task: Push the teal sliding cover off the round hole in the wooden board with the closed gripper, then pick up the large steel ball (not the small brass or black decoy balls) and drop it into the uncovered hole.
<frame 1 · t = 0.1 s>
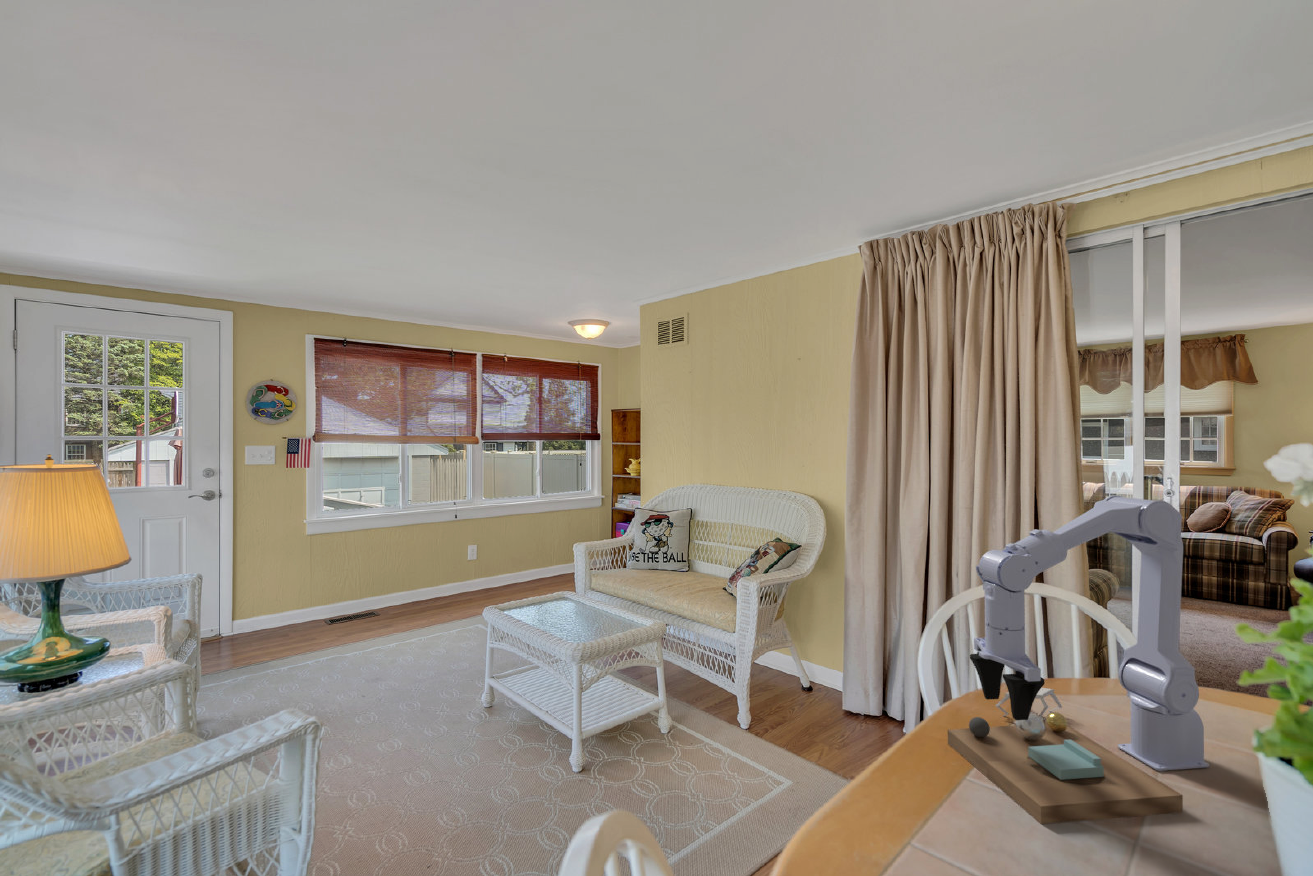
hand: (1005, 708, 102), 10 cm above the table, fingers open, 7 cm apart
cover: (1064, 758, 98), point 4 cm above the table, slide at 0.0 cm
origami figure: (1023, 716, 122), on the table
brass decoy: (1056, 722, 109), point 4 cm above the table, touching wooden board
steel ball: (1030, 726, 107), point 5 cm above the table, touching wooden board
black decoy: (979, 727, 108), point 4 cm above the table, touching wooden board
wooden board: (1053, 774, 100), on the table
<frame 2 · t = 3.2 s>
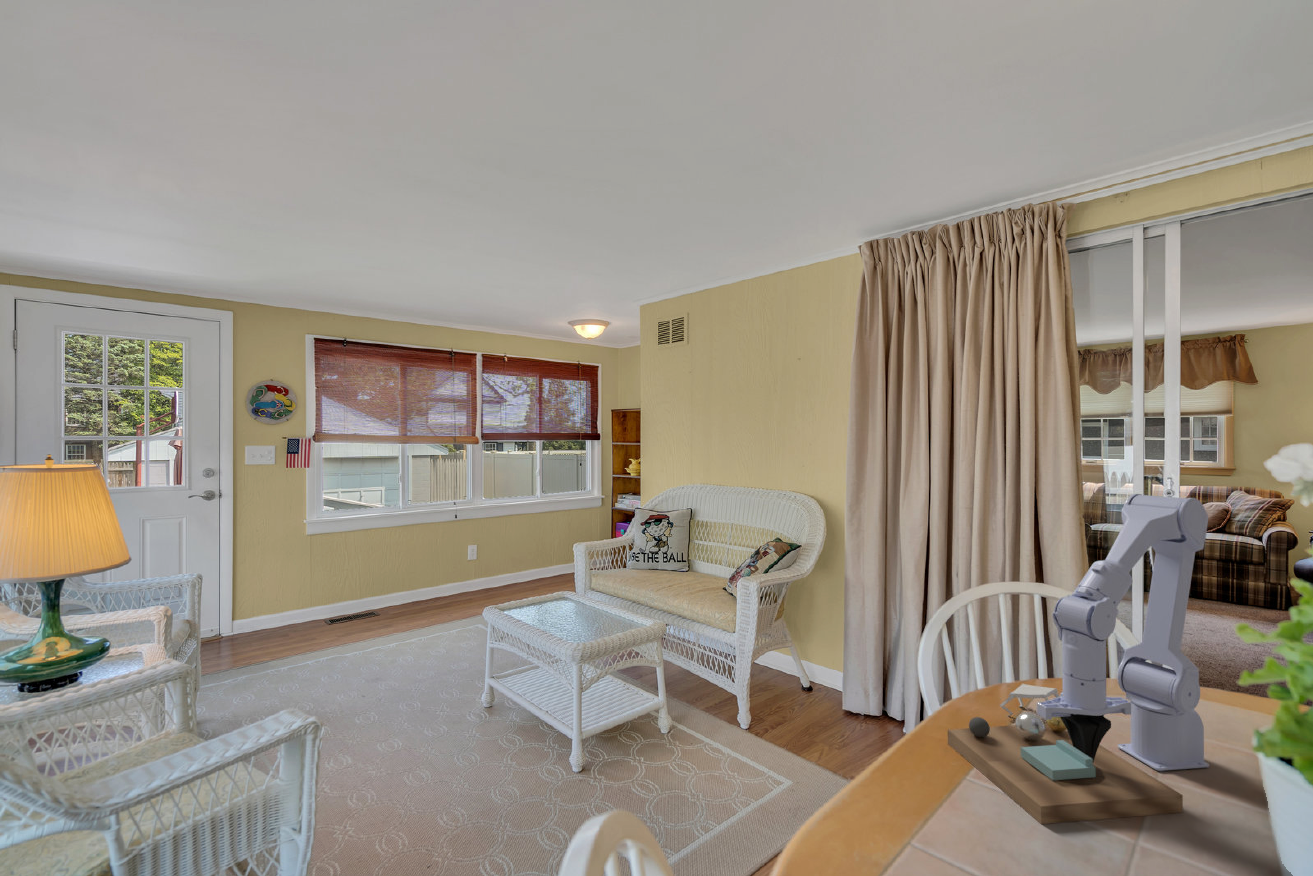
hand: (1084, 760, 98), 3 cm above the table, fingers closed
cover: (1056, 758, 98), point 4 cm above the table, slide at 1.3 cm, touching gripper
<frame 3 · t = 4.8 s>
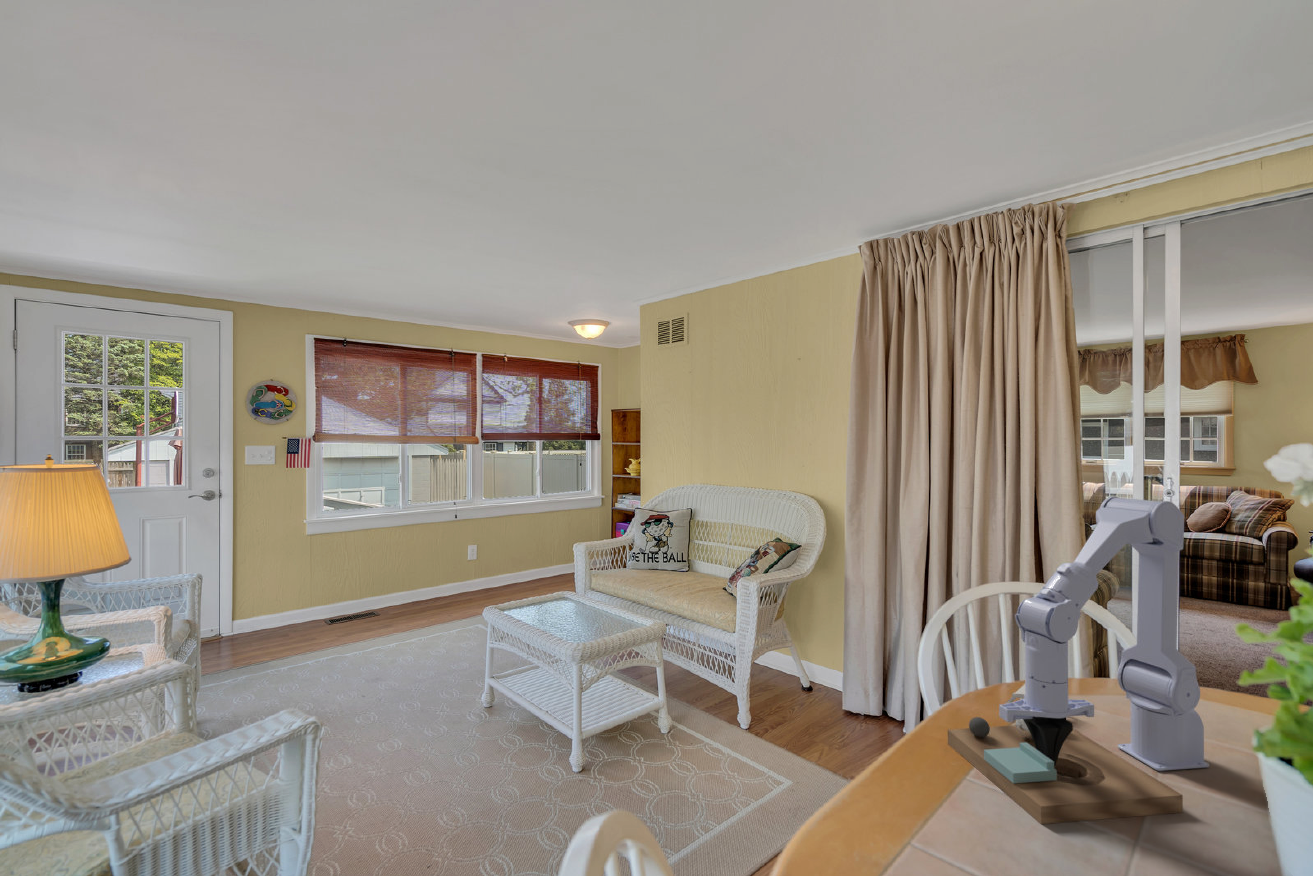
hand: (1047, 763, 97), 3 cm above the table, fingers closed
cover: (1019, 761, 97), point 4 cm above the table, slide at 7.7 cm, touching gripper
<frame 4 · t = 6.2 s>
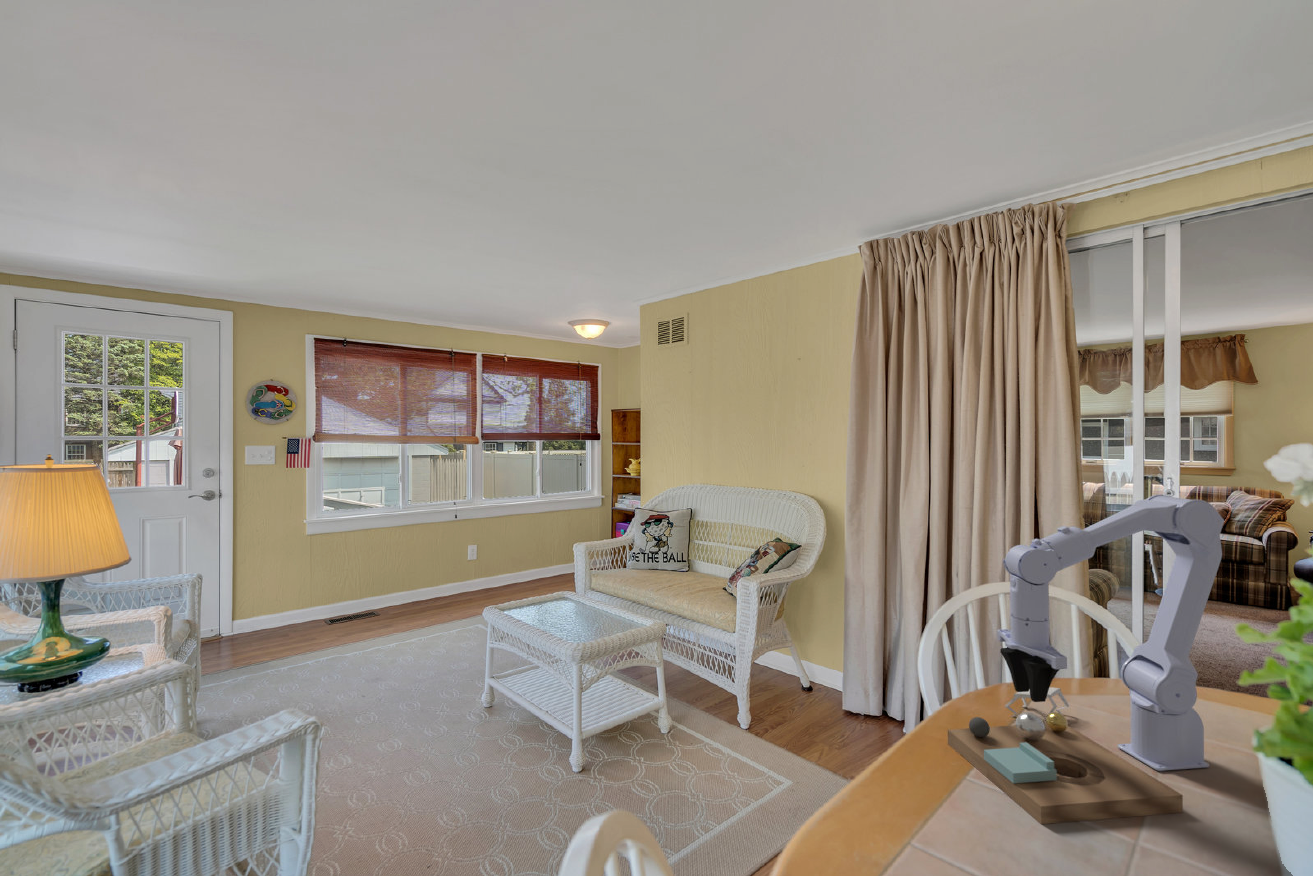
hand: (1030, 696, 107), 10 cm above the table, fingers open, 3 cm apart
cover: (1019, 761, 97), point 4 cm above the table, slide at 7.7 cm
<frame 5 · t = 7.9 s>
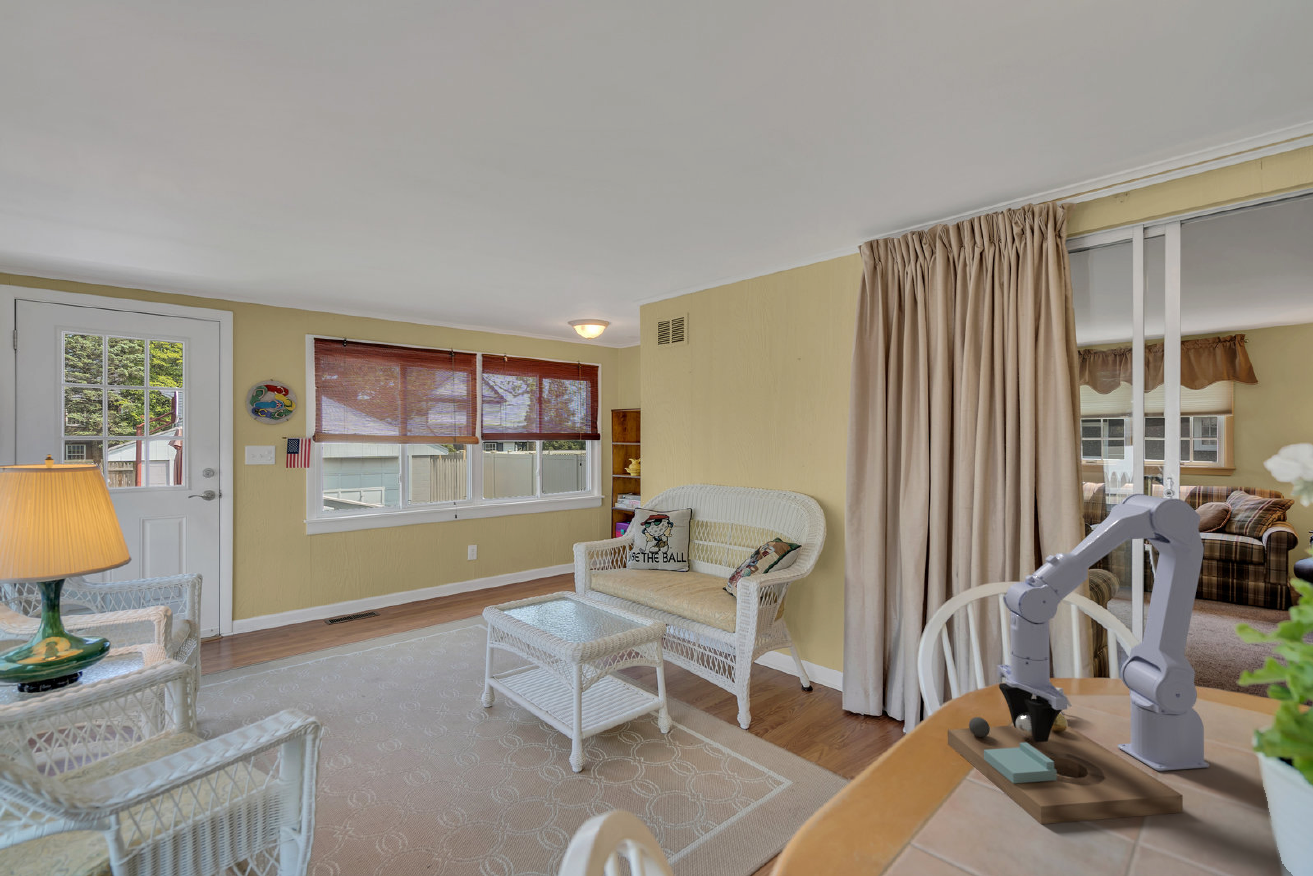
hand: (1030, 733, 107), 3 cm above the table, fingers closed on steel ball, 4 cm apart
steel ball: (1030, 726, 107), point 5 cm above the table, touching gripper, wooden board
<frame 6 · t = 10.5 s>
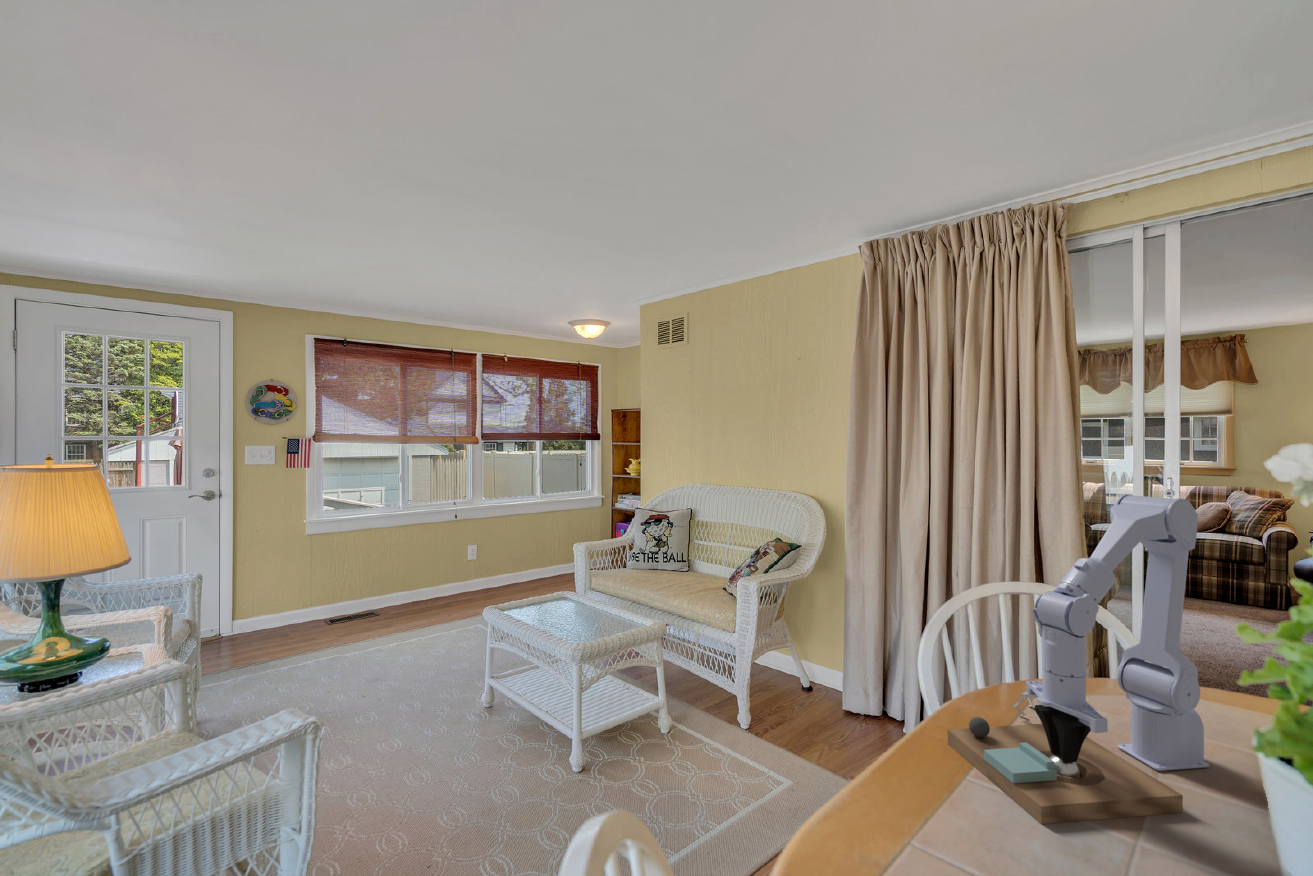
hand: (1063, 757, 98), 4 cm above the table, fingers closed on steel ball, 2 cm apart
steel ball: (1062, 770, 98), point 2 cm above the table, tilted 119°, touching gripper
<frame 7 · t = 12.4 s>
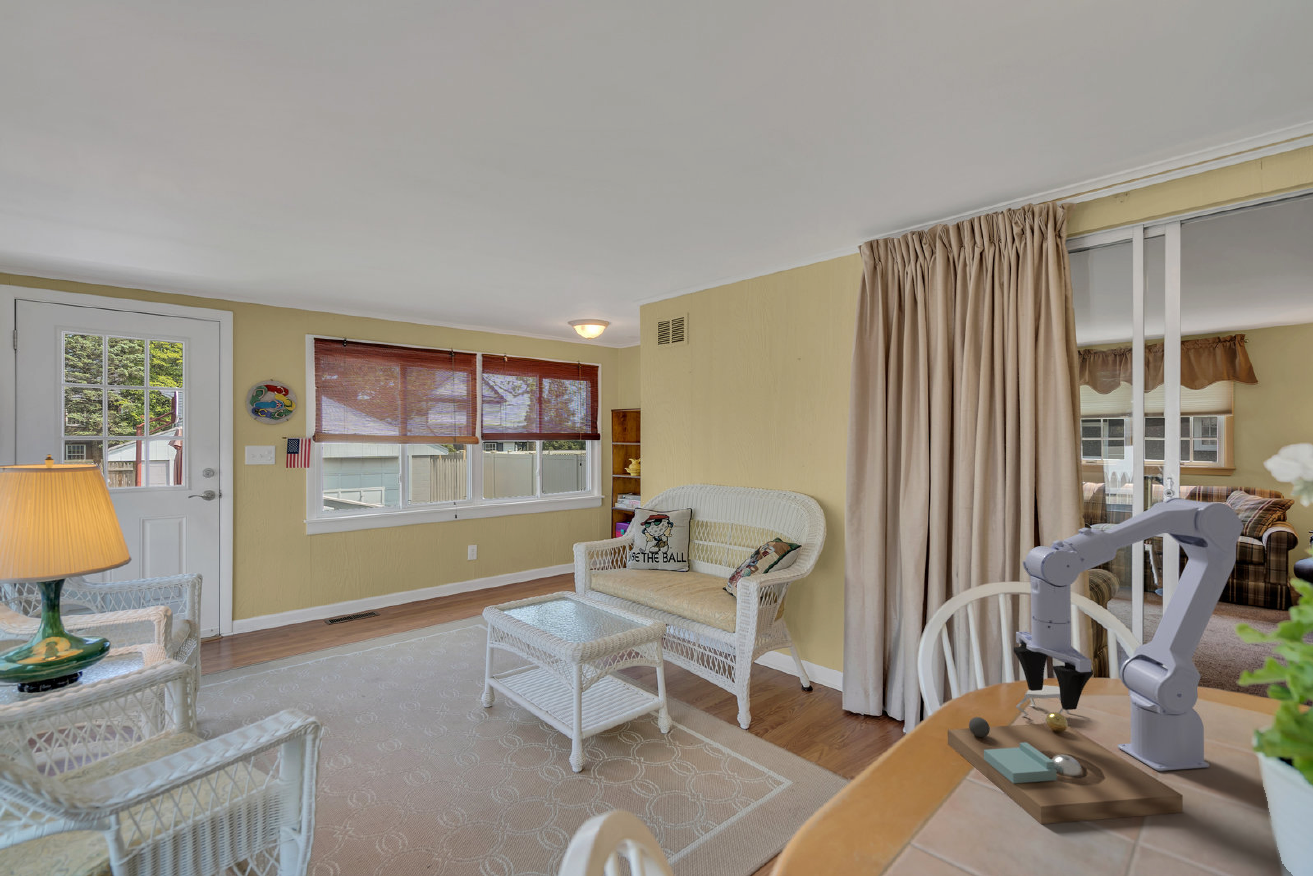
hand: (1051, 699, 106), 10 cm above the table, fingers open, 7 cm apart
steel ball: (1066, 770, 97), point 2 cm above the table, tilted 123°
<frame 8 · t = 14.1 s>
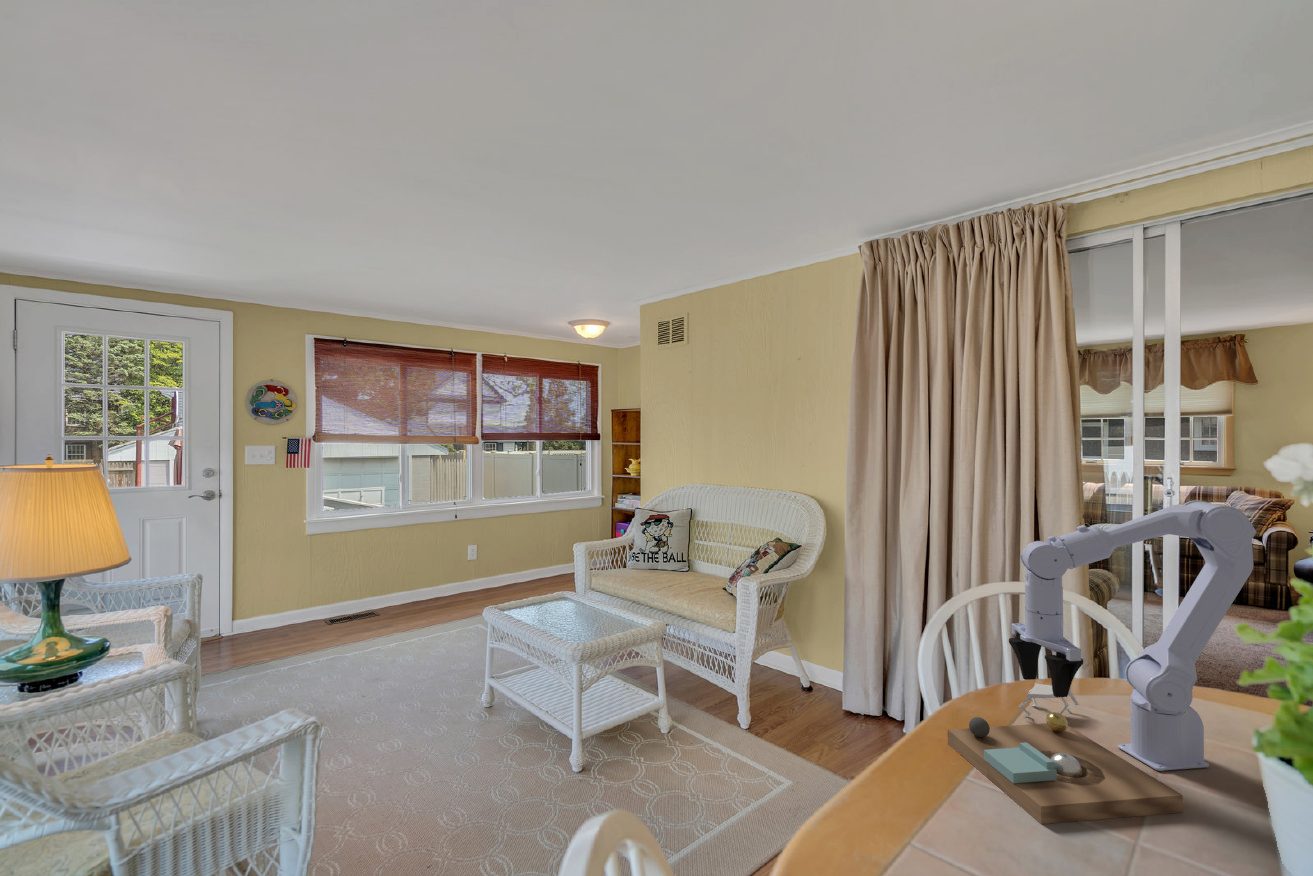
hand: (1044, 687, 110), 10 cm above the table, fingers open, 7 cm apart
steel ball: (1065, 768, 98), point 2 cm above the table, tilted 109°
at the end: steel ball 0.4 cm from the target spot in the wooden board, point 2.2 cm above the wooden board's base; cover slide at 7.7 cm; the gripper is holding nothing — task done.
